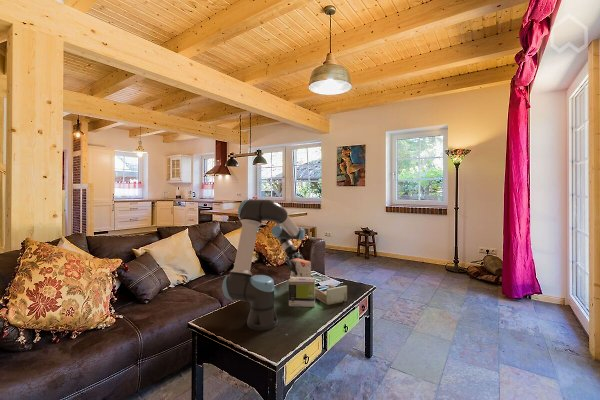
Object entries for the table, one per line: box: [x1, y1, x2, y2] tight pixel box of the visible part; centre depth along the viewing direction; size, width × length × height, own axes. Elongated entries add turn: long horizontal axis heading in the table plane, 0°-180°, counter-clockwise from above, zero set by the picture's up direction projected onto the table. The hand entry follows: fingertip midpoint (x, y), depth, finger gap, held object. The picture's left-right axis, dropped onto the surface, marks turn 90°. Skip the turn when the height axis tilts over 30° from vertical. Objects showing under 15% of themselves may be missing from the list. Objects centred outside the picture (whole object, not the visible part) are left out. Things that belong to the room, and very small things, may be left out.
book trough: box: [315, 283, 348, 306], centre depth 182 cm, size 14×17×9 cm
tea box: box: [288, 276, 316, 308], centre depth 173 cm, size 15×10×15 cm, turn 84°
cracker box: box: [290, 258, 312, 277], centre depth 193 cm, size 14×6×21 cm, turn 42°
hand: (304, 277), depth 190 cm, fingers closed on cracker box, 6 cm apart
